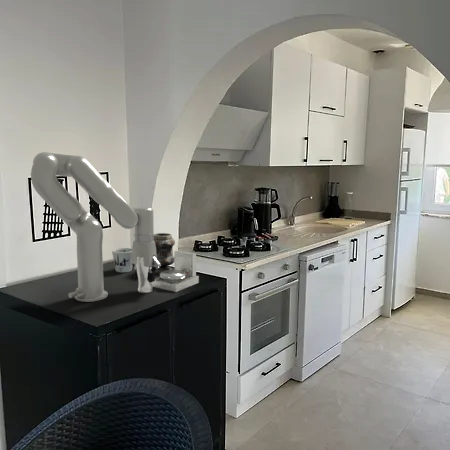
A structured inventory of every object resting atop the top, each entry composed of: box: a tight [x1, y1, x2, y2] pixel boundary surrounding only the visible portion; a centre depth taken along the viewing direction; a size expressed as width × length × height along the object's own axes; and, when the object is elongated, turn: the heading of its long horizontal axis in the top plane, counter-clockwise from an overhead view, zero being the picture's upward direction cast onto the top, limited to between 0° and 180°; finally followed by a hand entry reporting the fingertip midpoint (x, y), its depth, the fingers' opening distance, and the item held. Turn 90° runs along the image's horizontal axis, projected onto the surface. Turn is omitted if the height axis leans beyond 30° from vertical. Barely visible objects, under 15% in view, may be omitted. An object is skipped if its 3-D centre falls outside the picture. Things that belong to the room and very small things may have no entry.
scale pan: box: [159, 269, 186, 280], centre depth 198 cm, size 12×11×1 cm
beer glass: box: [136, 256, 153, 294], centre depth 189 cm, size 7×7×15 cm
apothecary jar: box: [154, 232, 176, 274], centre depth 220 cm, size 12×12×18 cm
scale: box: [152, 250, 200, 293], centre depth 199 cm, size 16×13×13 cm
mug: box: [111, 247, 133, 273], centre depth 223 cm, size 10×15×10 cm
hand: (145, 279), depth 190 cm, fingers closed on beer glass, 6 cm apart
